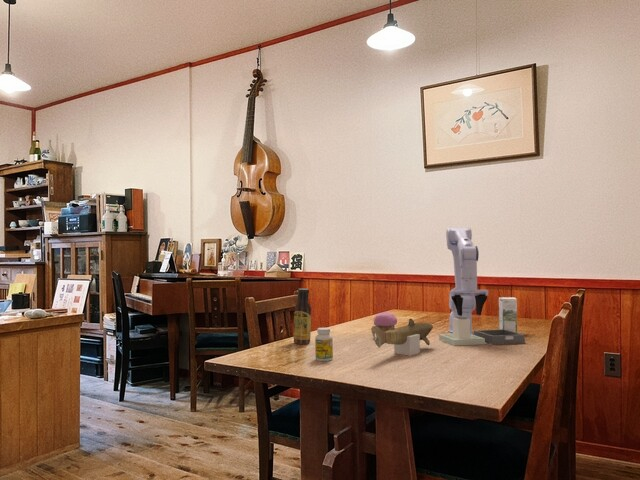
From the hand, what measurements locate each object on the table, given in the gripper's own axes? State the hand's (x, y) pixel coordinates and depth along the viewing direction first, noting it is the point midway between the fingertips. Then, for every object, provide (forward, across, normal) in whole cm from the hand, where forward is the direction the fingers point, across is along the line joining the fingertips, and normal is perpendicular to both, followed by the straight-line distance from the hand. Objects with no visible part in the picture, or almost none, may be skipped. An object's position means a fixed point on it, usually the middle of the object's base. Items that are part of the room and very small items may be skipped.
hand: (469, 315), depth 182 cm
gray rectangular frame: (+10, +11, -2) cm, 14 cm away
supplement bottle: (+10, -59, -19) cm, 63 cm away
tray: (+10, -4, -1) cm, 10 cm away
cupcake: (+10, -29, +12) cm, 33 cm away
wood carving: (+10, -32, -17) cm, 38 cm away
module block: (+9, -4, -1) cm, 10 cm away
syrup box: (+10, +23, +12) cm, 28 cm away
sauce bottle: (+10, -62, +9) cm, 63 cm away
